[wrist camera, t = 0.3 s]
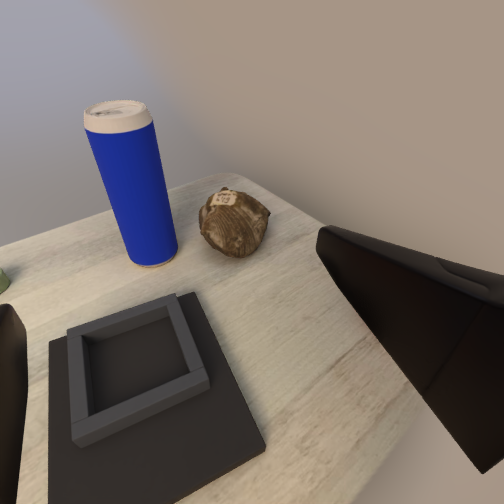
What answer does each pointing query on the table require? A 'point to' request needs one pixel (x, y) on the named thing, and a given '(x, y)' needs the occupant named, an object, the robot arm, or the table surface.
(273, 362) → the table surface
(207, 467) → the base pad
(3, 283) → the pad
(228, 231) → the fossilized seashell
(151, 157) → the beverage can
